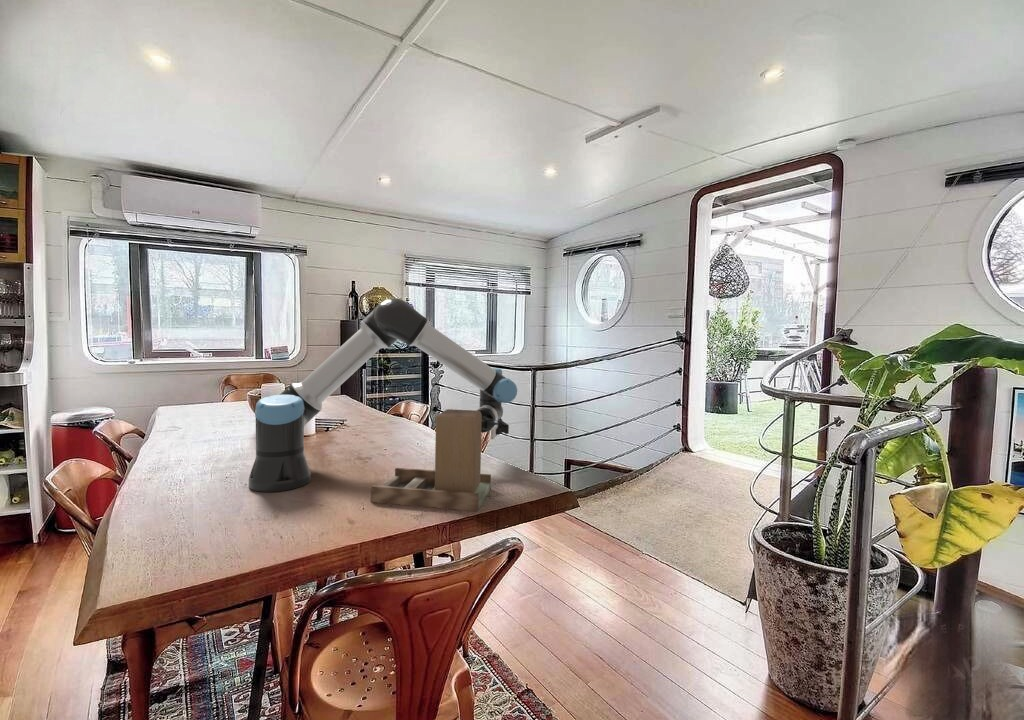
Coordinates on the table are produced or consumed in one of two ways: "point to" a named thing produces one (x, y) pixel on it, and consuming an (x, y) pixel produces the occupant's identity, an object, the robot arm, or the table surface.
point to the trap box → (427, 491)
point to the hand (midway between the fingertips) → (467, 432)
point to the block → (458, 450)
